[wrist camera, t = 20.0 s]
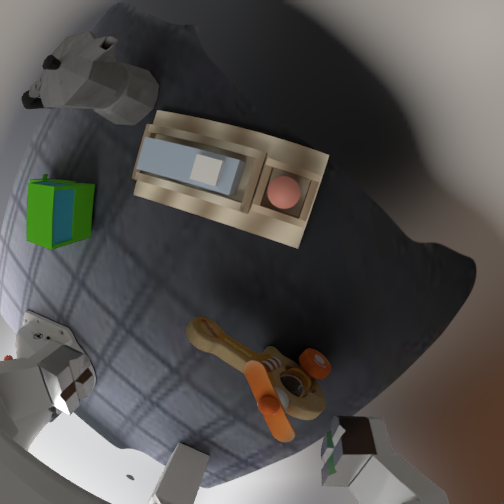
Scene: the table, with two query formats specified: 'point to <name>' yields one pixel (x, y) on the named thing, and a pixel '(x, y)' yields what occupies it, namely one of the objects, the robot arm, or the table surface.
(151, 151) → the blue slab with cube
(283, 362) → the toy helicopter
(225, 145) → the jig
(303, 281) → the table surface
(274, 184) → the tail peg
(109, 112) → the coffeepot
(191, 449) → the milk carton
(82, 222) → the toy car
